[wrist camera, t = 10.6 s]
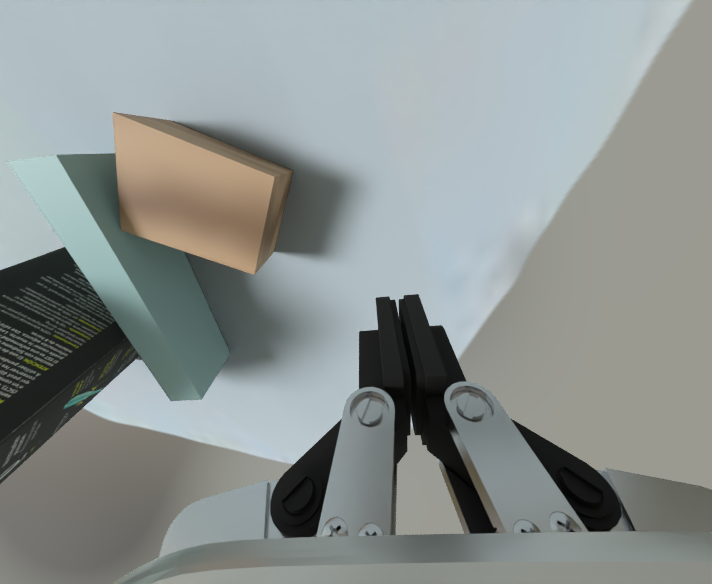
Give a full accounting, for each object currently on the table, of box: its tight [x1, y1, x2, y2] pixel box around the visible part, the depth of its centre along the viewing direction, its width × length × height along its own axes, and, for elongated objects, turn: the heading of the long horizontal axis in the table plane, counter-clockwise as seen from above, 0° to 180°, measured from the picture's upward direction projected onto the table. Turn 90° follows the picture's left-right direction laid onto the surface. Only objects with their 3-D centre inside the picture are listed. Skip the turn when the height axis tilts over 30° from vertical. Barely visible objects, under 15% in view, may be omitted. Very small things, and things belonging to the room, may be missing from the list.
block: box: [113, 112, 293, 275], centre depth 19 cm, size 7×9×5 cm
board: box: [6, 154, 230, 401], centre depth 22 cm, size 20×3×6 cm, turn 6°
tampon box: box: [0, 247, 139, 484], centre depth 20 cm, size 11×9×15 cm
